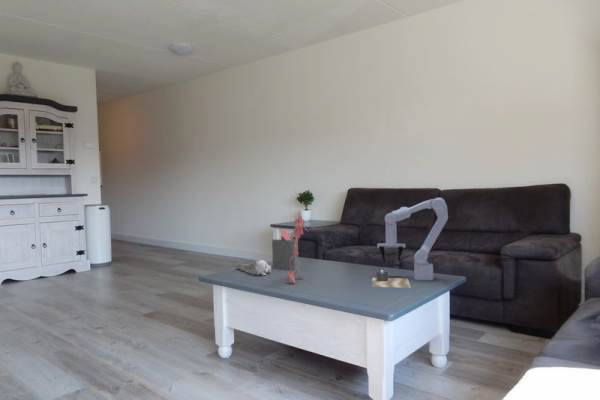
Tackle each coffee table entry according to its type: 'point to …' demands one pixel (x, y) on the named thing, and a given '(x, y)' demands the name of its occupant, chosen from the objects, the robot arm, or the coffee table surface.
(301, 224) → the figurine
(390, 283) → the board
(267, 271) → the white lumpy shape
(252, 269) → the wrench
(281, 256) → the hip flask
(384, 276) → the ring
